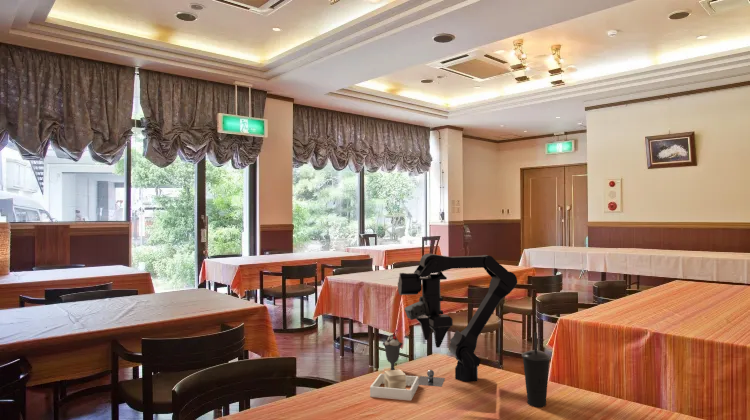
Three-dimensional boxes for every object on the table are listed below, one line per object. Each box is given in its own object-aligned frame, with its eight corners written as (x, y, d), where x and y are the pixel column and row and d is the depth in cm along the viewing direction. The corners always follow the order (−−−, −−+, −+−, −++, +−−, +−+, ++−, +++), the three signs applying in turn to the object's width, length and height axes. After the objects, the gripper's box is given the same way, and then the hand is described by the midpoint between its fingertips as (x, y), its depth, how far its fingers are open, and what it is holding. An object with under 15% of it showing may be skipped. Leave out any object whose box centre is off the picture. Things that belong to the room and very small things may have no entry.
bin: (418, 389, 145) (418, 376, 145) (411, 404, 134) (411, 390, 134) (380, 386, 148) (380, 373, 148) (370, 400, 137) (370, 386, 137)
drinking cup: (516, 401, 135) (515, 330, 136) (537, 397, 138) (536, 328, 139) (535, 411, 128) (534, 336, 129) (557, 406, 131) (556, 334, 132)
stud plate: (445, 381, 152) (444, 367, 152) (441, 390, 144) (441, 375, 144) (420, 379, 154) (420, 365, 154) (415, 388, 146) (415, 373, 146)
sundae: (401, 377, 157) (400, 331, 157) (381, 376, 158) (380, 330, 158) (404, 370, 163) (403, 327, 163) (384, 369, 164) (384, 326, 165)
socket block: (400, 389, 144) (400, 369, 144) (405, 395, 139) (405, 374, 139) (384, 391, 143) (384, 370, 143) (389, 397, 138) (389, 376, 138)
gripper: (397, 290, 157) (398, 338, 156) (418, 300, 139) (418, 354, 138) (429, 289, 160) (429, 335, 159) (453, 298, 142) (453, 350, 142)
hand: (432, 343), depth 150 cm, fingers open, 9 cm apart
